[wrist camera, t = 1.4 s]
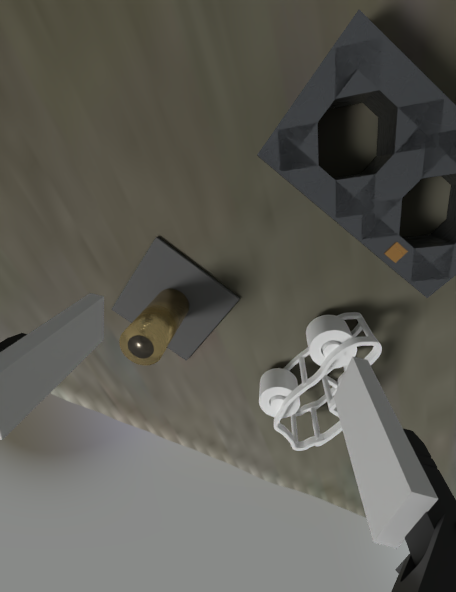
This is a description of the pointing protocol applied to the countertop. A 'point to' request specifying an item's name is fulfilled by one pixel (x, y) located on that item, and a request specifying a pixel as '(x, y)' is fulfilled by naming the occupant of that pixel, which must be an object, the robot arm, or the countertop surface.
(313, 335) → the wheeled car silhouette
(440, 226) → the block
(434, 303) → the countertop surface
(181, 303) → the bushing
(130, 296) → the mat
